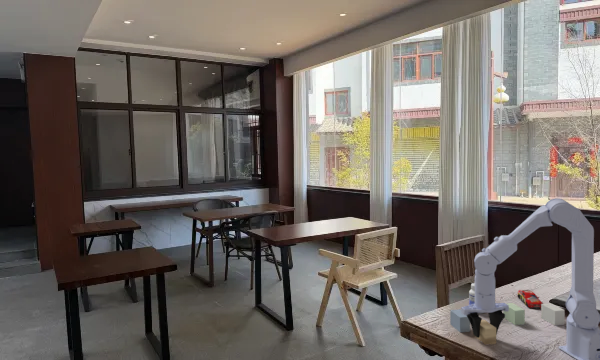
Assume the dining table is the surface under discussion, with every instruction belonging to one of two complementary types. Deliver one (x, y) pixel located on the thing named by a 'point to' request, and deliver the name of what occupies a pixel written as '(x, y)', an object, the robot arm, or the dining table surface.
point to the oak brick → (487, 333)
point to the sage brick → (515, 314)
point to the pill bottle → (472, 295)
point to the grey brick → (552, 314)
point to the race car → (529, 298)
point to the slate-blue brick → (459, 321)
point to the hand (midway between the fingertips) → (484, 335)
